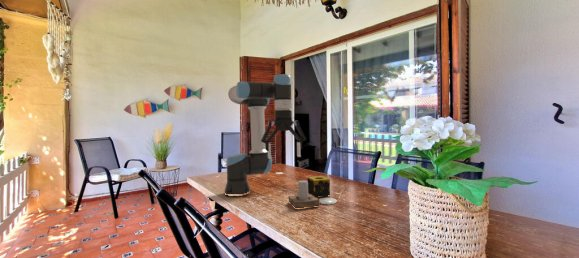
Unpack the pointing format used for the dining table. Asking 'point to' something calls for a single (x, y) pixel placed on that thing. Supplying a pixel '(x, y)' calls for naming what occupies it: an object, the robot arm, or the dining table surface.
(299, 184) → the beverage can
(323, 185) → the candle
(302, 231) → the dining table surface
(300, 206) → the socket block
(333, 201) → the white round domed part
